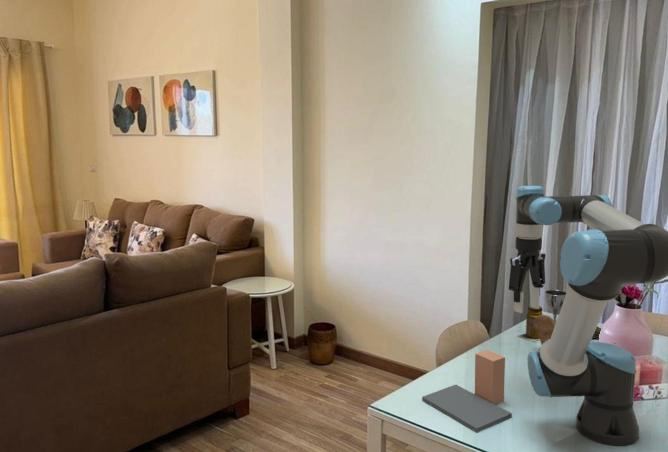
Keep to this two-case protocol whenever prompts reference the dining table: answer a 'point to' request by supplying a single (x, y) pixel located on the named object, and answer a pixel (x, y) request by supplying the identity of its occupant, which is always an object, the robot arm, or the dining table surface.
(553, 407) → the dining table surface
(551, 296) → the wine glass
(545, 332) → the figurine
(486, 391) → the tall block
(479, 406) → the rubber mat
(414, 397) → the dining table surface
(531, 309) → the condiment
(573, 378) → the robot arm
